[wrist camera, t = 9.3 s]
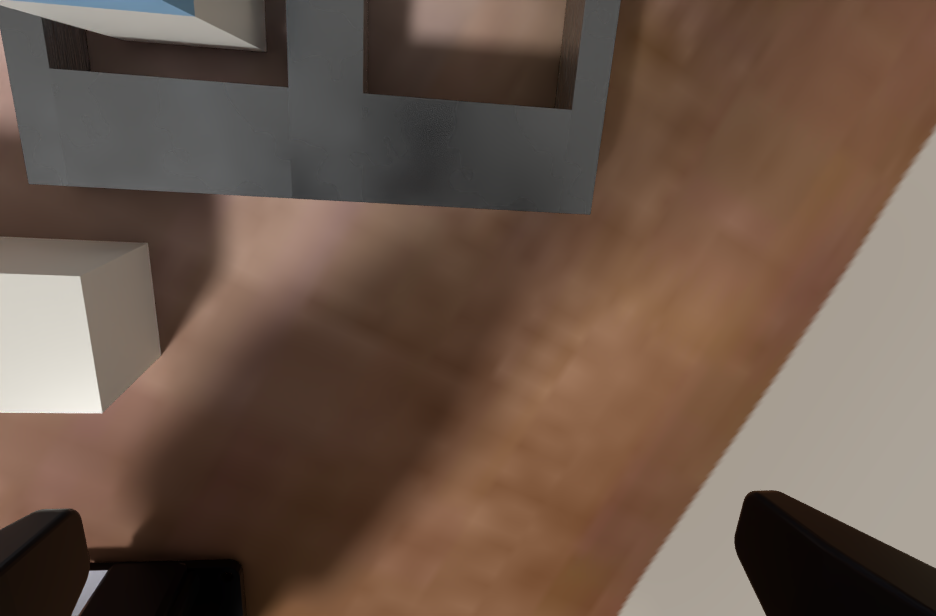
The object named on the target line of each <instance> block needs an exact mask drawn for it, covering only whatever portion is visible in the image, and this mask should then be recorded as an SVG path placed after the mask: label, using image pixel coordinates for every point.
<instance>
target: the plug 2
mask: <svg viewBox="0 0 936 616" xmlns="http://www.w3.org/2000/svg"><path fill="white" fill-rule="evenodd" d="M160 356H161V349H160V340H159V332H158V324H157V315H156V307H155V298H154V290H153V282H152V273H151V265H150V256H149V248H148V243H139V242H116V241H93V240H69V239H46V238H23V237H0V413H103V412H104V411H105V410H106V409H107V408H108V407H109V406H110V405H111V404H112V403H113V402H114V401H115V400H116V399H117V398H118V397H119V396H120V395H122V394H123V393H124V392H125V391H126V390H127V389H128V388H129V387H130V386H131V385H132V384H133V383H134V382H135V381H136V380H137V379H138V378H139V377H140V376H141V375H142V374H143V373H144V372H145V371H146V370H147V369H148V368H149V367H150V366H151V365H152V364H153V363H154V362H155V361H156V360H157V359H158V358H159V357H160Z"/></svg>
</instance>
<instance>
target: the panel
mask: <svg viewBox="0 0 936 616" xmlns="http://www.w3.org/2000/svg"><path fill="white" fill-rule="evenodd" d="M620 2H621V0H567V3H566V12H565V21H564V29H563V38H562V47H561V56H560V65H559V73H558V82H557V91H556V100H555V109H554V108H541V107H529V106H516V105H504V104H491V103H478V102H466V101H453V100H441V99H428V98H415V97H403V96H390V95H378V94H367V88H368V0H286V29H287V60H288V87H277V86H264V85H252V84H239V83H227V82H214V81H201V80H189V79H176V78H164V77H151V76H138V75H126V74H113V73H101V72H91V71H90V64H89V57H88V50H87V42H86V35H85V29H82V28H79V27H75V26H71V25H68V24H64V23H61V22H57V21H54V20H50V19H47V18H43V17H40V16H36V15H33V14H29V13H26V12H22V11H19V10H15V9H12V8H8V7H4V6H1V5H0V30H1V35H2V41H3V46H4V52H5V57H6V63H7V68H8V74H9V79H10V84H11V90H12V95H13V101H14V106H15V112H16V117H17V123H18V128H19V133H20V139H21V144H22V150H23V155H24V161H25V166H26V172H27V177H28V183H29V184H40V185H58V186H77V187H95V188H113V189H131V190H150V191H168V192H186V193H205V194H223V195H241V196H259V197H278V198H296V199H314V200H332V201H351V202H369V203H387V204H406V205H424V206H442V207H460V208H479V209H497V210H515V211H533V212H552V213H570V214H588V215H590V213H591V206H592V199H593V192H594V185H595V178H596V171H597V164H598V157H599V150H600V143H601V136H602V129H603V122H604V115H605V108H606V101H607V94H608V87H609V80H610V73H611V65H612V58H613V51H614V44H615V37H616V30H617V23H618V16H619V9H620Z"/></svg>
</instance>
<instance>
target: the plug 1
mask: <svg viewBox="0 0 936 616" xmlns="http://www.w3.org/2000/svg"><path fill="white" fill-rule="evenodd" d="M0 5H1V6H4V7H8V8H12V9H15V10H19V11H22V12H26V13H29V14H33V15H36V16H40V17H43V18H47V19H50V20H54V21H57V22H61V23H64V24H68V25H71V26H75V27H79V28H82V29H86V30H89V31H93V32H96V33H100V34H103V35H107V36H110V37H114V38H117V39H121V40H125V41H137V42H149V43H162V44H174V45H186V46H198V47H211V48H223V49H235V50H247V51H259V52H267V44H266V23H265V2H264V0H0Z"/></svg>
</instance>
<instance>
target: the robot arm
mask: <svg viewBox="0 0 936 616" xmlns="http://www.w3.org/2000/svg"><path fill="white" fill-rule="evenodd" d="M735 549H736V552H737V555H738V558H739V560H740V562H741V564H742V566H743V568H744V570H745V572H746V574H747V576H748V578H749V581H750V583H751V585H752V587H753V589H754V591H755V593H756V595H757V597H758V599H759V601H760V604H761V605H762V608H763V610H764V612H765V614H766V616H936V568H934V567H932V566H930V565H928V564H926V563H924V562H922V561H920V560H918V559H916V558H914V557H912V556H910V555H908V554H906V553H903V552H902V551H899V550H897V549H895V548H893V547H891V546H889V545H887V544H885V543H883V542H881V541H879V540H877V539H875V538H873V537H871V536H869V535H867V534H865V533H863V532H861V531H859V530H857V529H855V528H853V527H851V526H849V525H846V524H845V523H843V522H841V521H839V520H837V519H835V518H833V517H831V516H828V515H827V514H824V513H822V512H820V511H818V510H816V509H814V508H812V507H810V506H808V505H806V504H804V503H802V502H800V501H798V500H796V499H794V498H792V497H790V496H788V495H786V494H784V493H782V492H779V491H773V490H769V491H752V492H750V493H748V494H747V495H746V497H745V499H744V502H743V506H742V509H741V514H740V517H739V521H738V525H737V529H736V533H735ZM225 572H230V573H231V574H226V573H225ZM0 616H246V605H245V592H244V579H243V568H242V565H241V564H240V563H239V562H237V561H235V560H230V559H223V560H184V561H145V562H106V563H90V558H89V553H88V548H87V544H86V539H85V534H84V529H83V524H82V520H81V517H80V514H79V513H78V512H77V511H76V510H73V509H42V510H38V511H35V512H33V513H31V514H29V515H27V516H25V517H23V518H21V519H20V520H18V521H16V522H14V523H12V524H10V525H8V526H6V527H5V528H3V529H1V530H0Z"/></svg>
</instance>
